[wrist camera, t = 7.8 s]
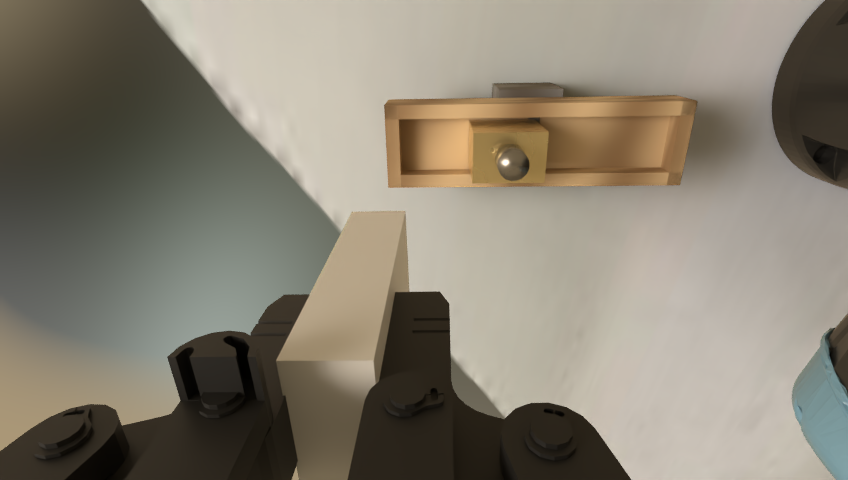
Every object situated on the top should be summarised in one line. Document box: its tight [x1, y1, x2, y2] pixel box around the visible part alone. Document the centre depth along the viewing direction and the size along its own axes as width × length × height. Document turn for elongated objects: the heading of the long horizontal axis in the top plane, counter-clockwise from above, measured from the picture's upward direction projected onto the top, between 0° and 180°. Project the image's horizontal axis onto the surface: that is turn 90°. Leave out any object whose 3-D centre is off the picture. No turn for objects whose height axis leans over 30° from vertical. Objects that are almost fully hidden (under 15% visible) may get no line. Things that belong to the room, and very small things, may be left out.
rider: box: [468, 120, 549, 183], centre depth 27 cm, size 4×3×6 cm
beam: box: [384, 83, 697, 188], centre depth 31 cm, size 18×6×7 cm, turn 91°
